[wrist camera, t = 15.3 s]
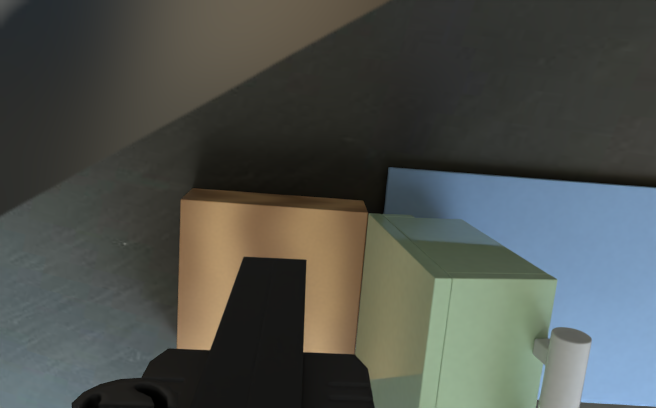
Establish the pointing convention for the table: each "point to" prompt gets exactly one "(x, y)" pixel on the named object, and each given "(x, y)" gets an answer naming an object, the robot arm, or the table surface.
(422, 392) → the green open box
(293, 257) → the tan rectangular panel
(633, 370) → the mat
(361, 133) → the table surface
